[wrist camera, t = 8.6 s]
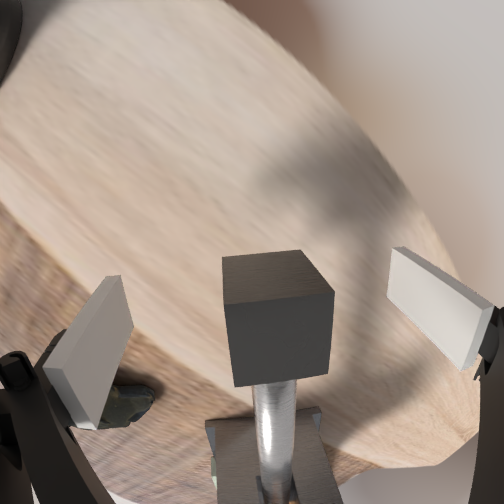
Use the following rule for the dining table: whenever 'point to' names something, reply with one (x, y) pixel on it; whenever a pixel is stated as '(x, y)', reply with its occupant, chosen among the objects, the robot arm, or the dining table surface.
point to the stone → (124, 406)
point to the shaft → (276, 347)
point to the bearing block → (248, 468)
